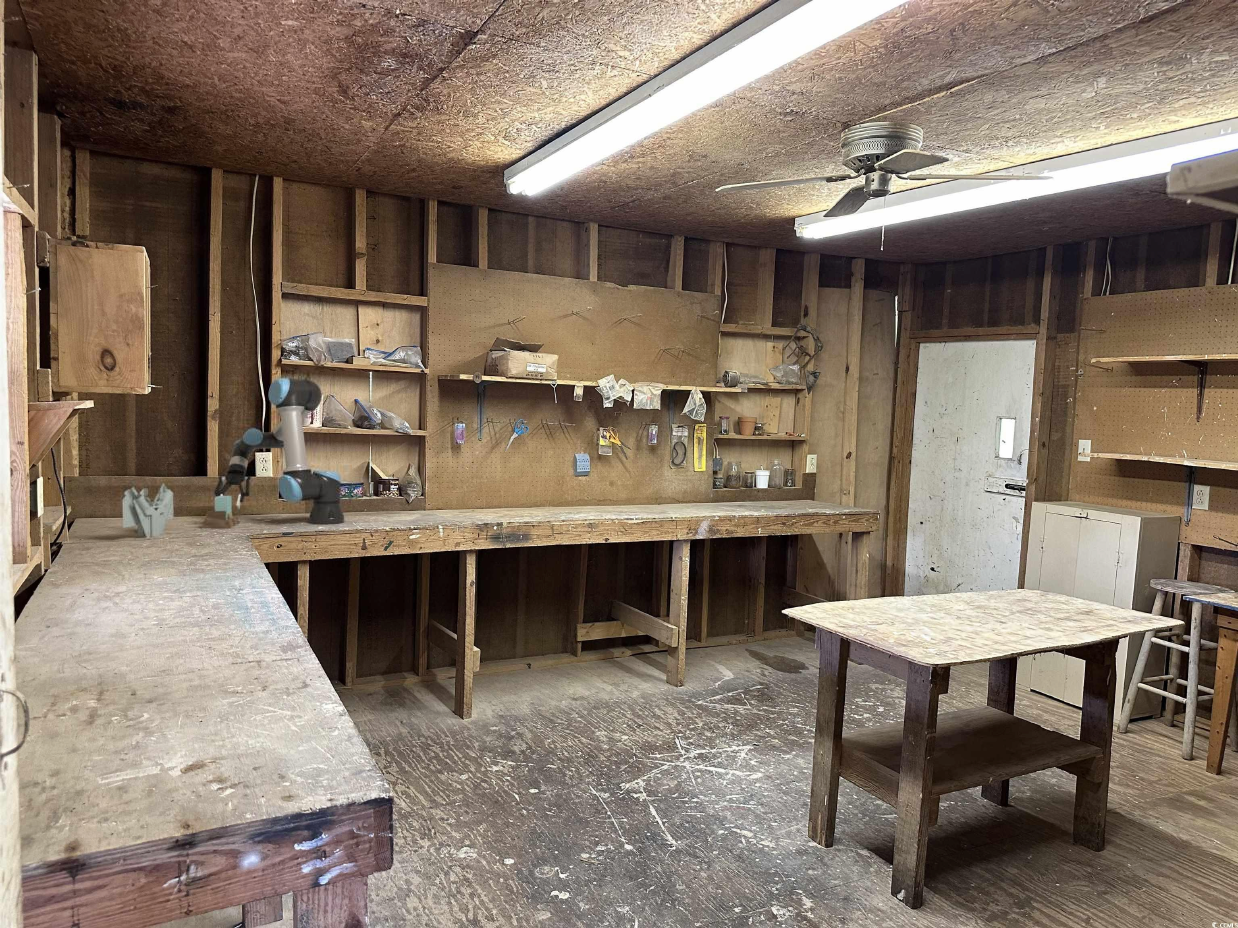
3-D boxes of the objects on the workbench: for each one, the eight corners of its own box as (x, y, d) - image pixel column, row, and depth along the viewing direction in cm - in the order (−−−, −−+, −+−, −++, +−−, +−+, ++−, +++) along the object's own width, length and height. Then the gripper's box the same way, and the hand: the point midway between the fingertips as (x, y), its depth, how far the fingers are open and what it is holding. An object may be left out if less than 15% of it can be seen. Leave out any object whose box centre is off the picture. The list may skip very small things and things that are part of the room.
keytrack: (212, 523, 357) (211, 507, 357) (239, 523, 359) (238, 507, 359) (201, 528, 343) (201, 511, 342) (230, 528, 345) (230, 511, 344)
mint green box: (219, 520, 358) (219, 495, 357) (231, 520, 359) (231, 495, 358) (214, 523, 351) (214, 497, 350) (227, 522, 352) (227, 497, 351)
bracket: (132, 541, 307) (131, 488, 306) (115, 540, 308) (114, 487, 307) (181, 531, 334) (181, 482, 333) (166, 530, 335) (165, 482, 334)
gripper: (261, 473, 383) (254, 512, 368) (216, 473, 379) (206, 512, 364) (259, 463, 378) (251, 502, 363) (212, 462, 373) (202, 502, 359)
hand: (228, 507), depth 363 cm, fingers open, 7 cm apart
